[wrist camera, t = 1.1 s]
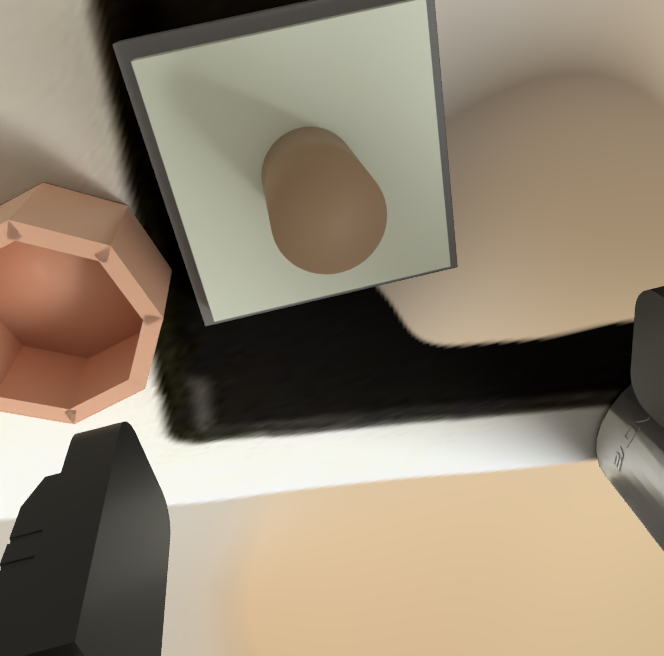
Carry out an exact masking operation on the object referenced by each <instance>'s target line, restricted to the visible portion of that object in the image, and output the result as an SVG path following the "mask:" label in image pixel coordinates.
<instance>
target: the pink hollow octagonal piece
mask: <svg viewBox="0 0 664 656" xmlns="http://www.w3.org/2000/svg"><path fill="white" fill-rule="evenodd" d="M171 272H172V269H171V268H170V266H169V265H168V263H167V262H166V261H165V259H164V258H163V256H162V255H161V253H160V252H159V250H158V249H157V247H156V246H155V244H154V243H153V242H152V240H151V239H150V237H149V236H148V234H147V233H146V231H145V230H144V228H143V227H142V226H141V224H140V223H139V221H138V220H137V218H136V217H135V215H134V214H133V212H132V211H131V209H130V208H129V207H128V206H127V205H124V204H120V203H116V202H113V201H109V200H105V199H102V198H98V197H94V196H91V195H87V194H83V193H80V192H76V191H72V190H69V189H65V188H61V187H58V186H54V185H51V184H47V183H41V184H39V185H37V186H36V187H34V188H32V189H30V190H28V191H26V192H24V193H23V194H21V195H19V196H17V197H15V198H13V199H12V200H10V201H8V202H6V203H4V204H2V205H1V206H0V412H6V413H12V414H18V415H24V416H29V417H35V418H41V419H47V420H53V421H59V422H65V423H70V424H76V423H78V422H80V421H82V420H84V419H86V418H88V417H90V416H92V415H94V414H96V413H98V412H100V411H102V410H104V409H106V408H108V407H110V406H112V405H114V404H116V403H118V402H120V401H122V400H124V399H126V398H128V397H130V396H132V395H134V394H136V393H137V392H139V391H141V390H143V389H145V387H146V383H147V379H148V375H149V371H150V367H151V364H152V360H153V356H154V352H155V348H156V344H157V340H158V336H159V332H160V328H161V324H162V321H163V316H164V311H165V305H166V300H167V294H168V289H169V283H170V278H171Z"/></svg>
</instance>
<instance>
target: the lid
mask: <svg viewBox="0 0 664 656" xmlns="http://www.w3.org/2000/svg"><path fill="white" fill-rule="evenodd" d="M131 63H132V67H133V70H134V73H135V76H136V79H137V82H138V85H139V88H140V91H141V95H142V98H143V101H144V104H145V107H146V110H147V113H148V116H149V120H150V123H151V126H152V129H153V132H154V135H155V138H156V141H157V144H158V148H159V151H160V154H161V157H162V160H163V163H164V166H165V169H166V172H167V176H168V179H169V182H170V185H171V188H172V191H173V194H174V197H175V201H176V204H177V207H178V210H179V213H180V216H181V219H182V222H183V225H184V229H185V232H186V235H187V238H188V241H189V244H190V247H191V250H192V253H193V257H194V260H195V263H196V266H197V269H198V272H199V275H200V278H201V282H202V285H203V288H204V291H205V294H206V297H207V300H208V303H209V306H210V310H211V313H212V316H213V319H214V322H216V321H220V320H224V319H229V318H233V317H237V316H242V315H246V314H250V313H254V312H259V311H263V310H267V309H271V308H276V307H280V306H284V305H288V304H293V303H297V302H301V301H306V300H310V299H314V298H318V297H323V296H327V295H331V294H335V293H340V292H344V291H348V290H352V289H357V288H361V287H365V286H369V285H374V284H378V283H382V282H387V281H391V280H395V279H399V278H404V277H408V276H412V275H416V274H421V273H425V272H429V271H433V270H438V269H442V268H446V267H451V265H450V254H449V244H448V233H447V222H446V211H445V200H444V189H443V179H442V168H441V157H440V146H439V135H438V124H437V114H436V103H435V92H434V81H433V70H432V59H431V49H430V38H429V27H428V16H427V5H426V0H405V1H401V2H396V3H391V4H387V5H382V6H378V7H373V8H368V9H364V10H359V11H354V12H350V13H345V14H340V15H336V16H331V17H326V18H322V19H317V20H312V21H308V22H303V23H298V24H294V25H289V26H284V27H280V28H275V29H270V30H266V31H261V32H256V33H252V34H247V35H242V36H238V37H233V38H228V39H224V40H219V41H214V42H210V43H205V44H200V45H196V46H191V47H187V48H182V49H177V50H173V51H168V52H163V53H159V54H154V55H149V56H145V57H140V58H135V59H133V60H132V61H131Z"/></svg>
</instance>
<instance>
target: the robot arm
mask: <svg viewBox="0 0 664 656" xmlns="http://www.w3.org/2000/svg"><path fill="white" fill-rule="evenodd" d="M631 382H632V384H631V385H630V386H629V387H628V388H626V389H625V390H624V391H623V392H622V393H621V394H620V396H619V397H618V398H617V400H616V401H615V402H614V403H613V405H612V406H611V407H610V409H609V411H608V412H607V414H606V416H605V418H604V420H603V422H602V424H601V427H600V430H599V434H598V437H597V448H596V454H597V458H598V462H599V466H600V468H601V469H602V471H603V473H604V474H605V476H606V477H607V478H608V480H609V481H610V482H611V483H612V485H613V486H614V487H615V489H616V490H617V491H618V493H619V494H620V495H621V496H622V498H623V499H624V500H625V502H626V503H627V504H628V505H629V507H630V508H631V509H632V511H633V512H634V513H635V514H636V516H637V517H638V518H639V520H640V521H641V522H642V523H643V525H644V526H645V528H646V529H647V530H648V532H649V533H650V534H651V536H652V537H653V538H654V539H655V541H656V542H657V543H658V545H659V546H660V547H661V548H662V550H663V551H664V286H662V287H658V288H654V289H650V290H647V291H643V292H642V293H641V294H640V295H639V296H638V298H637V301H636V306H635V318H634V332H633V346H632V360H631ZM10 541H11V542H10V544H7V547H6V549H5V552H4V554H3V557H2V560H1V563H0V566H1V570H0V656H161V648H162V635H163V622H164V609H165V596H166V583H167V571H168V558H169V544H170V520H169V514H168V509H167V504H166V501H165V498H164V495H163V493H162V490H161V488H160V486H159V484H158V481H157V479H156V477H155V475H154V473H153V470H152V468H151V466H150V464H149V462H148V459H147V457H146V455H145V453H144V451H143V448H142V446H141V444H140V442H139V439H138V437H137V435H136V433H135V431H134V429H133V428H132V426H131V425H130V424H129V423H128V422H121V423H117V424H113V425H109V426H105V427H102V428H98V429H94V430H90V431H86V432H82V433H78V434H75V435H74V436H73V438H72V440H71V442H70V446H69V449H68V452H67V455H66V458H65V462H64V465H63V468H62V471H61V473H59V474H55V475H51V476H47V477H45V478H44V479H43V480H42V481H41V483H40V484H39V485H38V486H37V488H36V489H35V490H34V491H33V493H32V494H31V495H30V496H29V498H28V499H27V500H26V501H25V503H24V504H23V505H22V506H21V508H20V511H19V514H18V516H17V519H16V522H15V525H14V527H13V530H12V533H11V535H10Z"/></svg>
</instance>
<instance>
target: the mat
mask: <svg viewBox="0 0 664 656" xmlns="http://www.w3.org/2000/svg"><path fill="white" fill-rule="evenodd" d="M401 1H405V0H308V1H304V2H299V3H294V4H290V5H285V6H280V7H275V8H271V9H266V10H261V11H257V12H252V13H247V14H243V15H238V16H233V17H229V18H224V19H219V20H214V21H210V22H205V23H200V24H196V25H191V26H186V27H182V28H177V29H172V30H168V31H163V32H158V33H153V34H149V35H144V36H139V37H135V38H130V39H125V40H121V41H118V42H116V43H114V44H112V45H113V48H114V51H115V54H116V57H117V60H118V63H119V66H120V69H121V72H122V75H123V78H124V81H125V84H126V88H127V91H128V94H129V97H130V100H131V103H132V106H133V109H134V112H135V115H136V118H137V121H138V124H139V127H140V130H141V133H142V136H143V139H144V142H145V145H146V148H147V151H148V154H149V157H150V160H151V163H152V166H153V169H154V172H155V175H156V178H157V181H158V184H159V187H160V190H161V193H162V196H163V199H164V202H165V205H166V208H167V211H168V214H169V217H170V220H171V223H172V227H173V230H174V233H175V236H176V239H177V242H178V245H179V248H180V251H181V254H182V257H183V260H184V263H185V266H186V269H187V272H188V275H189V278H190V281H191V284H192V287H193V290H194V293H195V296H196V299H197V302H198V305H199V308H200V311H201V314H202V317H203V320H204V323H205V326H208V325H213V324H217V323H221V322H225V321H230V320H234V319H238V318H242V317H247V316H251V315H255V314H260V313H264V312H268V311H272V310H277V309H281V308H285V307H289V306H294V305H298V304H302V303H306V302H311V301H315V300H319V299H323V298H328V297H332V296H336V295H340V294H345V293H349V292H353V291H358V290H362V289H366V288H370V287H375V286H379V285H383V284H387V283H391V282H396V281H400V280H404V279H409V278H413V277H417V276H421V275H426V274H430V273H434V272H439V271H443V270H447V269H451V268H455V267H458V266H457V255H456V243H455V233H454V220H453V208H452V197H451V185H450V174H449V163H448V150H447V139H446V127H445V116H444V104H443V92H442V81H441V69H440V58H439V46H438V34H437V23H436V11H435V0H426V5H427V16H428V27H429V38H430V49H431V59H432V70H433V81H434V92H435V103H436V114H437V124H438V135H439V146H440V157H441V168H442V179H443V189H444V200H445V211H446V222H447V233H448V244H449V254H450V265H451V267H446V268H442V269H438V270H433V271H429V272H425V273H421V274H416V275H412V276H408V277H404V278H399V279H395V280H391V281H387V282H382V283H378V284H374V285H369V286H365V287H361V288H357V289H352V290H348V291H344V292H340V293H335V294H331V295H327V296H323V297H318V298H314V299H310V300H306V301H301V302H297V303H293V304H288V305H284V306H280V307H276V308H271V309H267V310H263V311H259V312H254V313H250V314H246V315H242V316H237V317H233V318H229V319H224V320H220V321H216V322H214V319H213V316H212V313H211V310H210V306H209V303H208V300H207V297H206V294H205V291H204V288H203V285H202V282H201V278H200V275H199V272H198V269H197V266H196V263H195V260H194V257H193V253H192V250H191V247H190V244H189V241H188V238H187V235H186V232H185V229H184V225H183V222H182V219H181V216H180V213H179V210H178V207H177V204H176V201H175V197H174V194H173V191H172V188H171V185H170V182H169V179H168V176H167V172H166V169H165V166H164V163H163V160H162V157H161V154H160V151H159V148H158V144H157V141H156V138H155V135H154V132H153V129H152V126H151V123H150V120H149V116H148V113H147V110H146V107H145V104H144V101H143V98H142V95H141V91H140V88H139V85H138V82H137V79H136V76H135V73H134V70H133V67H132V63H131V61H132V60H133V59H135V58H140V57H145V56H149V55H154V54H159V53H163V52H168V51H173V50H177V49H182V48H187V47H191V46H196V45H200V44H205V43H210V42H214V41H219V40H224V39H228V38H233V37H238V36H242V35H247V34H252V33H256V32H261V31H266V30H270V29H275V28H280V27H284V26H289V25H294V24H298V23H303V22H308V21H312V20H317V19H322V18H326V17H331V16H336V15H340V14H345V13H350V12H354V11H359V10H364V9H368V8H373V7H378V6H382V5H387V4H391V3H396V2H401Z"/></svg>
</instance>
